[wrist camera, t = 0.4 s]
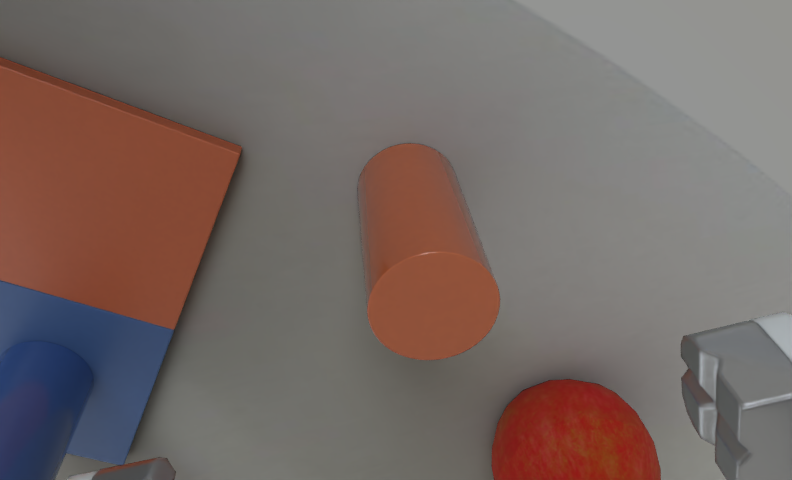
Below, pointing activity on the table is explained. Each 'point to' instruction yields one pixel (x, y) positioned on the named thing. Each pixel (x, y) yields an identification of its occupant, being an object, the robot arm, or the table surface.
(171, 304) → the board
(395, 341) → the terracotta canister
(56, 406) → the blue canister
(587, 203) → the table surface
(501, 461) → the apple
